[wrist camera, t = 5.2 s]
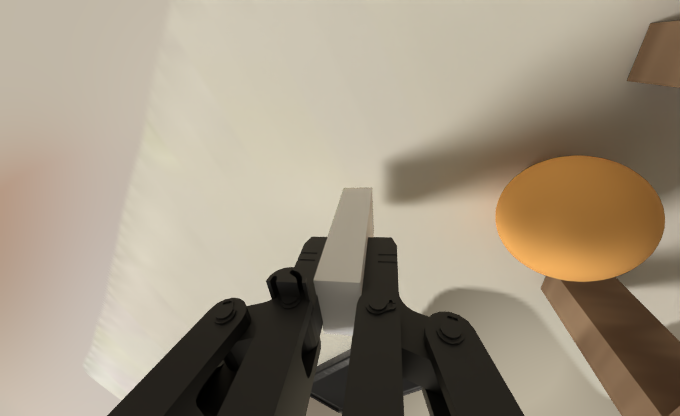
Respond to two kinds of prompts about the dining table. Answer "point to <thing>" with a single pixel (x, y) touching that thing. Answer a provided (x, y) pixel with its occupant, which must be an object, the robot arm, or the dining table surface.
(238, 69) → the dining table surface
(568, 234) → the ball
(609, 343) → the bridge
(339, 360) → the phone
